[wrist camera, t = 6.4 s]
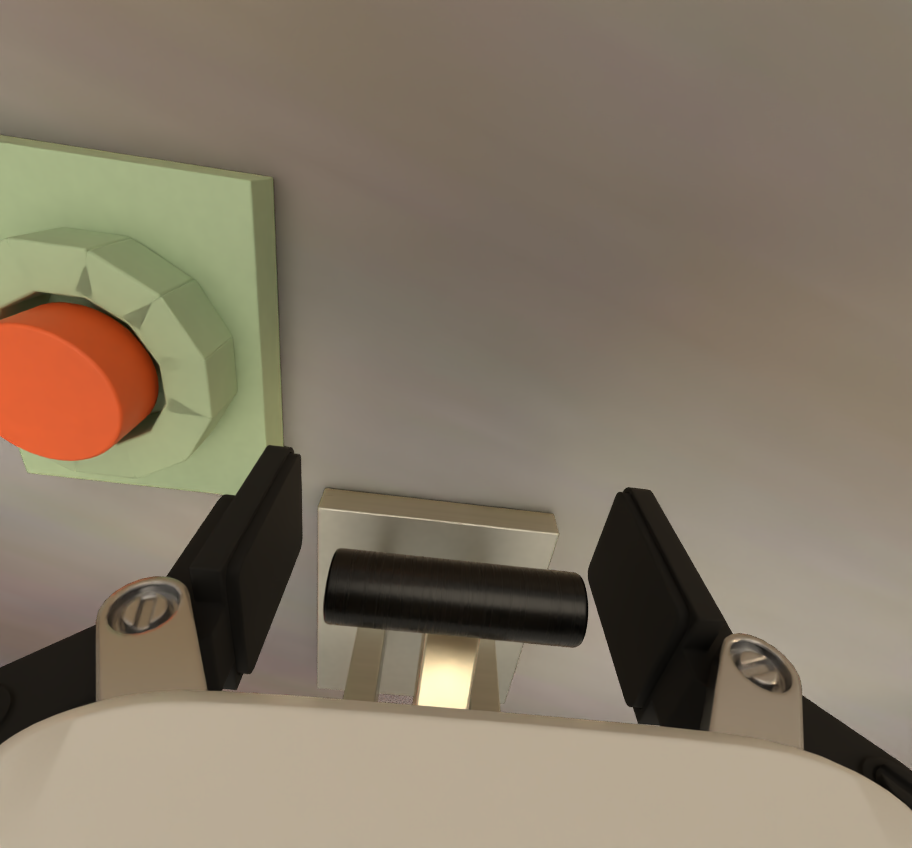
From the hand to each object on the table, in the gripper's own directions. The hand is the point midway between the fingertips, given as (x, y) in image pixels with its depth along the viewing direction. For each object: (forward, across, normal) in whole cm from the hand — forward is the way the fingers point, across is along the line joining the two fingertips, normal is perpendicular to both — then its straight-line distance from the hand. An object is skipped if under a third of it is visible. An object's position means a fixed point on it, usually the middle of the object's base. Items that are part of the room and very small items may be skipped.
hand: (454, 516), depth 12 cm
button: (+2, +10, -2) cm, 10 cm away
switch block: (+6, +10, -2) cm, 12 cm away
